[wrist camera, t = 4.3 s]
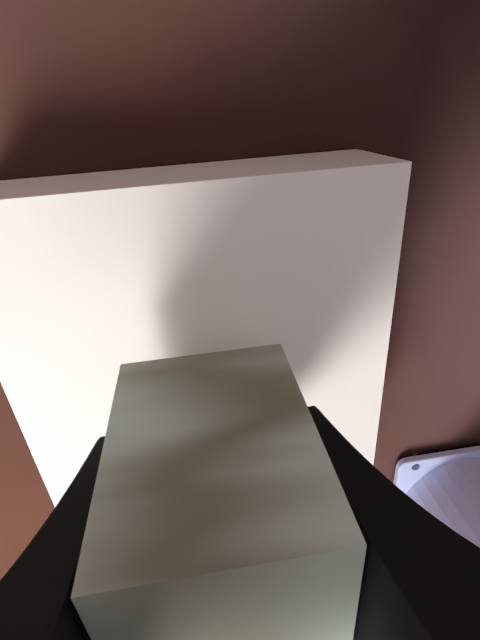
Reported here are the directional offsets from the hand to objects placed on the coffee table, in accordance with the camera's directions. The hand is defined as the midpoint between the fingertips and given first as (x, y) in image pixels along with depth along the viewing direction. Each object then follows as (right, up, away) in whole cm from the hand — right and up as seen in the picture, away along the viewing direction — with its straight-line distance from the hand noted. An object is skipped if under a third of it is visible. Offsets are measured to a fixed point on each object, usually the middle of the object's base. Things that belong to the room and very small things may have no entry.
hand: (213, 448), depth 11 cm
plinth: (-1, +3, +6) cm, 7 cm away
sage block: (0, +1, +1) cm, 2 cm away
